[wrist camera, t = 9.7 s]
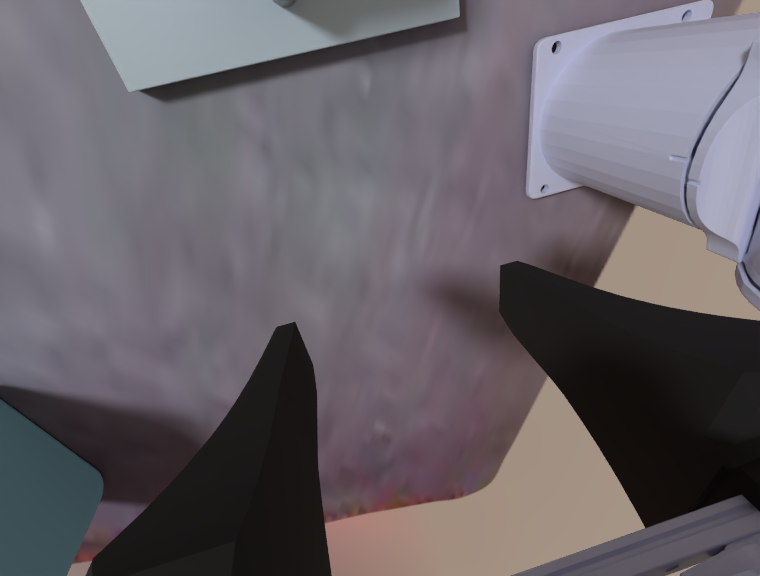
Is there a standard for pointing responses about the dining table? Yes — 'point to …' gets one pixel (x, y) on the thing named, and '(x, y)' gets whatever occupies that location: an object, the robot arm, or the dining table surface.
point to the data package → (41, 499)
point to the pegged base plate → (241, 31)
